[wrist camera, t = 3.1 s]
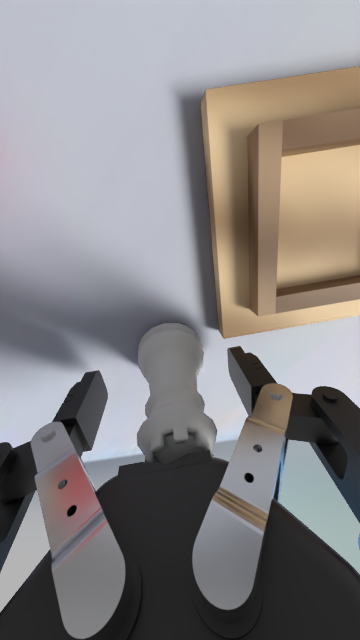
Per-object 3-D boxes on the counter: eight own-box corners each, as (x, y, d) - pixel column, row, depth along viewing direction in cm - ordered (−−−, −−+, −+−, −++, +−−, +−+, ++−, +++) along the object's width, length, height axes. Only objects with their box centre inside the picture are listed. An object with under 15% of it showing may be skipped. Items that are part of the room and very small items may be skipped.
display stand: (200, 105, 10) (212, 69, 8) (446, 68, 10) (525, 23, 8) (218, 330, 15) (229, 348, 13) (384, 301, 15) (423, 314, 13)
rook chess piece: (180, 307, 14) (203, 395, 7) (211, 355, 16) (257, 467, 8) (125, 340, 14) (89, 454, 7) (160, 383, 16) (161, 511, 9)
